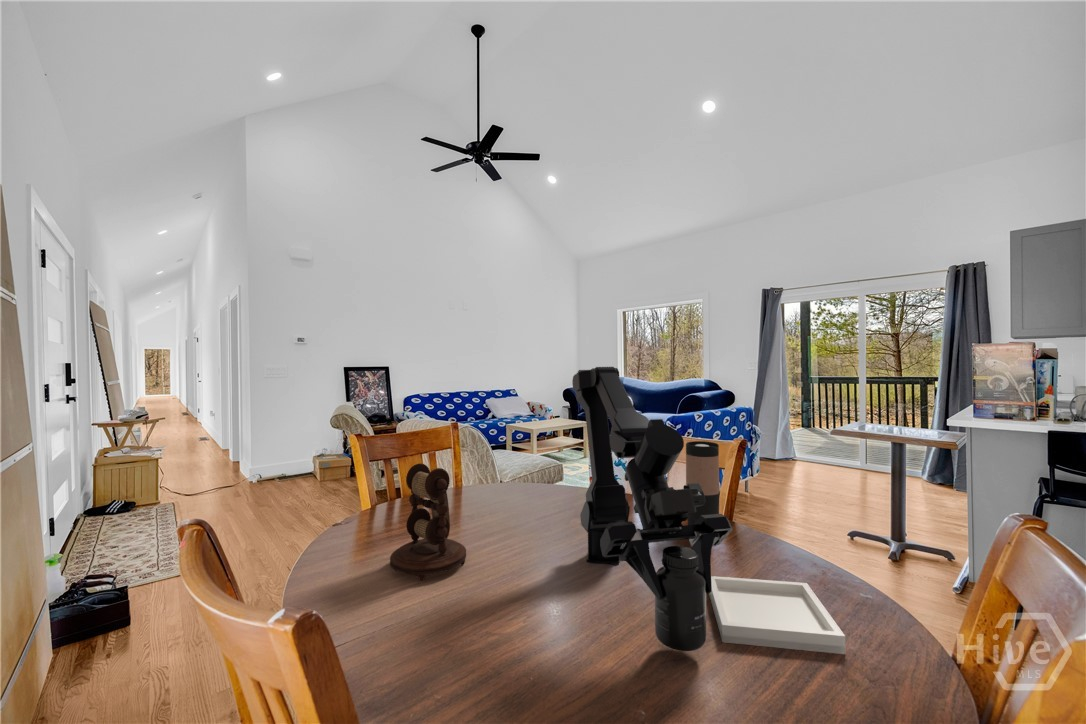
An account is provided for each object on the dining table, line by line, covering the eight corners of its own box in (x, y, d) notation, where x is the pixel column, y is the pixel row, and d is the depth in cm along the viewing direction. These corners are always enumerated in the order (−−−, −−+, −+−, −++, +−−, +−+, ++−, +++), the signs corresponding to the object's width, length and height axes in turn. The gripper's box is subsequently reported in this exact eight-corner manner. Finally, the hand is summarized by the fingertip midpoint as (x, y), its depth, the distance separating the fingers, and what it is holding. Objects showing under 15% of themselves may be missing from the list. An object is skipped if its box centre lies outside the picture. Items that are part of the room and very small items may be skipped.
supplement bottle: (709, 656, 63) (709, 564, 63) (655, 650, 65) (655, 560, 65) (703, 626, 70) (702, 544, 70) (654, 622, 71) (653, 540, 71)
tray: (722, 642, 70) (722, 624, 70) (707, 589, 86) (707, 575, 86) (845, 654, 67) (845, 636, 67) (806, 597, 82) (806, 583, 82)
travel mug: (681, 522, 121) (680, 441, 121) (711, 520, 122) (710, 440, 121) (693, 533, 113) (692, 447, 113) (725, 531, 114) (724, 446, 114)
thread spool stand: (481, 564, 98) (479, 464, 97) (417, 590, 87) (415, 478, 87) (438, 545, 108) (436, 455, 108) (376, 567, 97) (374, 467, 97)
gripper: (605, 467, 69) (636, 580, 58) (725, 460, 73) (774, 565, 62) (589, 505, 77) (614, 611, 66) (698, 497, 81) (737, 596, 70)
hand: (685, 595), depth 66 cm, fingers closed on supplement bottle, 7 cm apart
